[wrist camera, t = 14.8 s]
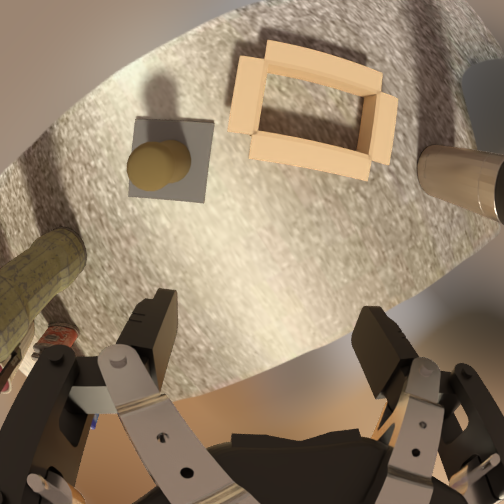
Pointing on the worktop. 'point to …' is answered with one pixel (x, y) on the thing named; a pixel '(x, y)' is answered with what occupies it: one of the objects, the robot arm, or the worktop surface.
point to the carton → (325, 73)
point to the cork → (158, 164)
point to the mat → (199, 146)
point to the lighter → (56, 337)
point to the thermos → (35, 287)
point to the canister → (24, 347)
